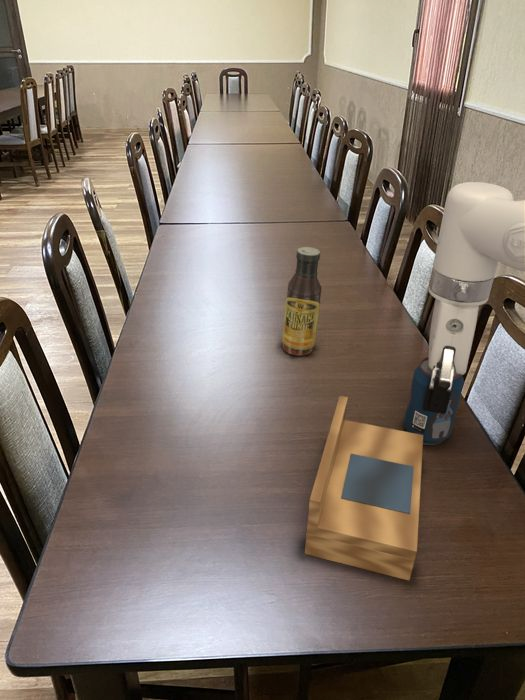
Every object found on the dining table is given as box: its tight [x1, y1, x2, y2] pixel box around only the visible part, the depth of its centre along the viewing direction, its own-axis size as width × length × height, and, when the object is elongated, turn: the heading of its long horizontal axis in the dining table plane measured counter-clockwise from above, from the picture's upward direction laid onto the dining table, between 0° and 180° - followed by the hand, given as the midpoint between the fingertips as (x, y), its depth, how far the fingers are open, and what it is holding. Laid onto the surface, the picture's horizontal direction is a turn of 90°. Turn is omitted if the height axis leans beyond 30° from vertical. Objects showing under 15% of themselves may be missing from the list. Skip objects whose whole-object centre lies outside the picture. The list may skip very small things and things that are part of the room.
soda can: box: [403, 356, 465, 446], centre depth 79 cm, size 7×7×12 cm
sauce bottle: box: [281, 246, 323, 357], centre depth 97 cm, size 7×6×20 cm
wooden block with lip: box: [304, 395, 424, 581], centre depth 67 cm, size 12×20×9 cm, turn 164°
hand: (434, 394), depth 78 cm, fingers closed on soda can, 7 cm apart
